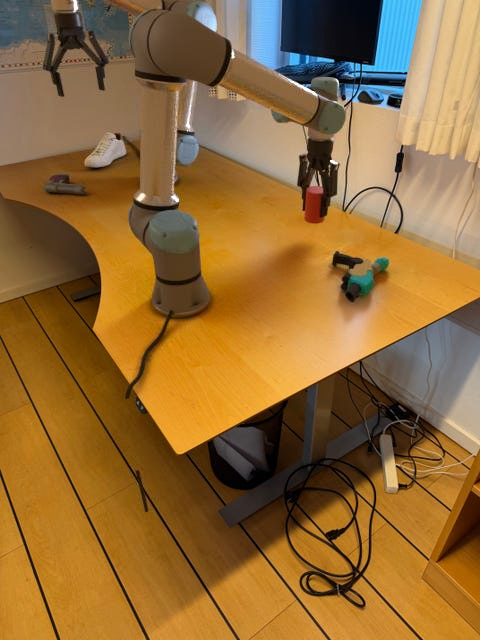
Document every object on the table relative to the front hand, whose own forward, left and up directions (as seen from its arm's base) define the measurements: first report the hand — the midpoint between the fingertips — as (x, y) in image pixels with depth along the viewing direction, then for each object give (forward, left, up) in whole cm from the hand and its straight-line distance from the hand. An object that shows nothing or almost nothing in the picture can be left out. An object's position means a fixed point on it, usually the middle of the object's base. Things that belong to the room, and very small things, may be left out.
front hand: (314, 212), depth 150 cm
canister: (0, 0, -2) cm, 2 cm away
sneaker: (+74, +92, -9) cm, 119 cm away
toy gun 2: (-27, -10, -9) cm, 30 cm away
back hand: (+15, +74, +32) cm, 82 cm away
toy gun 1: (+39, +96, -9) cm, 105 cm away
